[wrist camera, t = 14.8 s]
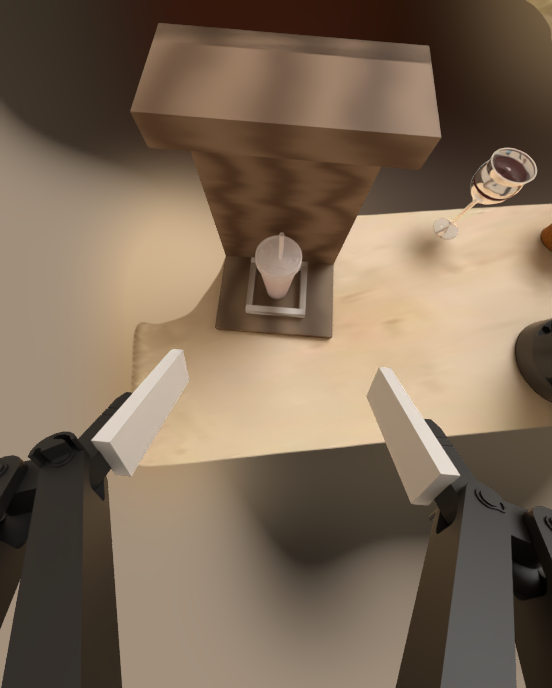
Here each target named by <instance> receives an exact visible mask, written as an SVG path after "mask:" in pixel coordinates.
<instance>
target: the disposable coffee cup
mask: <svg viewBox="0 0 552 688" xmlns="http://www.w3.org/2000/svg"><path fill="white" fill-rule="evenodd" d="M541 237H542V241H543V243H544V244H545V245H546V247H547V248H549V249H550V250H552V224H551V225H549V226H548V227H547V228H545V229H544V230H543V231H542V234H541Z"/></svg>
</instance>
